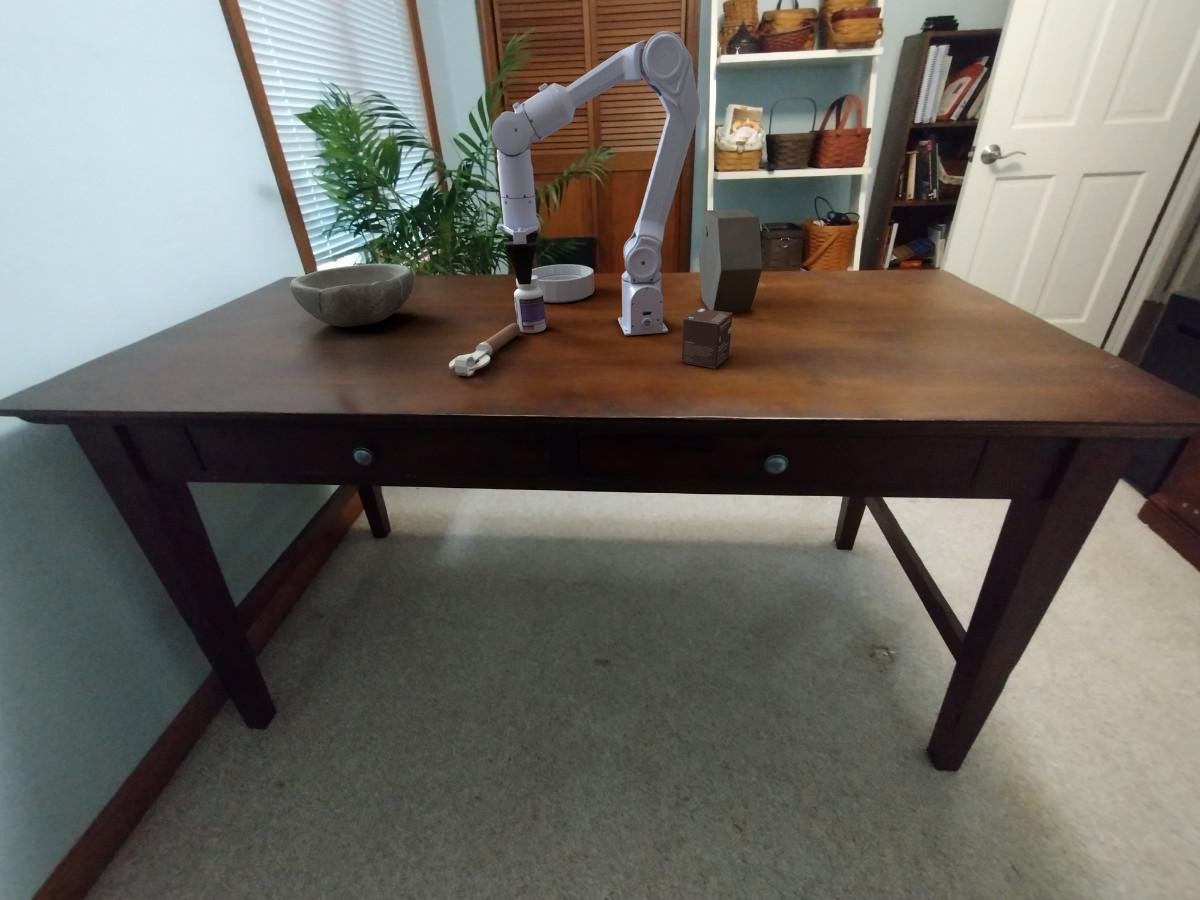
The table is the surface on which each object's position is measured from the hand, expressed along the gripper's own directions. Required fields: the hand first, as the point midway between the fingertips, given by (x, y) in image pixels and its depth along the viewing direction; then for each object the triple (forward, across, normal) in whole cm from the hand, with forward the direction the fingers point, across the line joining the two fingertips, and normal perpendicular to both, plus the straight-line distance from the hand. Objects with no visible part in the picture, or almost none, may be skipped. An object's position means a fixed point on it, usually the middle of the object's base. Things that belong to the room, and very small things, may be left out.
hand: (525, 278), depth 98 cm
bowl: (+10, -12, -34) cm, 38 cm away
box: (+9, +21, +29) cm, 37 cm away
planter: (+9, -7, +40) cm, 42 cm away
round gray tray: (+10, -23, +7) cm, 26 cm away
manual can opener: (+10, +12, -7) cm, 17 cm away
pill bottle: (+10, 0, 0) cm, 10 cm away
